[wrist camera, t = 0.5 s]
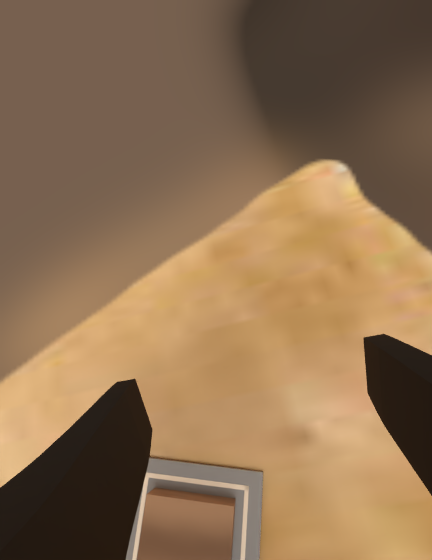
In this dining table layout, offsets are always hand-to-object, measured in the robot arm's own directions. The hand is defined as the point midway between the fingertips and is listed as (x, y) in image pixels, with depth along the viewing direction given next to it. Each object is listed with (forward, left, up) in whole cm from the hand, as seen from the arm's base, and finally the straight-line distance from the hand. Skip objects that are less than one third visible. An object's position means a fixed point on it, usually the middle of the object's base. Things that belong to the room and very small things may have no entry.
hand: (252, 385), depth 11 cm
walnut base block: (-13, +5, -27) cm, 30 cm away
